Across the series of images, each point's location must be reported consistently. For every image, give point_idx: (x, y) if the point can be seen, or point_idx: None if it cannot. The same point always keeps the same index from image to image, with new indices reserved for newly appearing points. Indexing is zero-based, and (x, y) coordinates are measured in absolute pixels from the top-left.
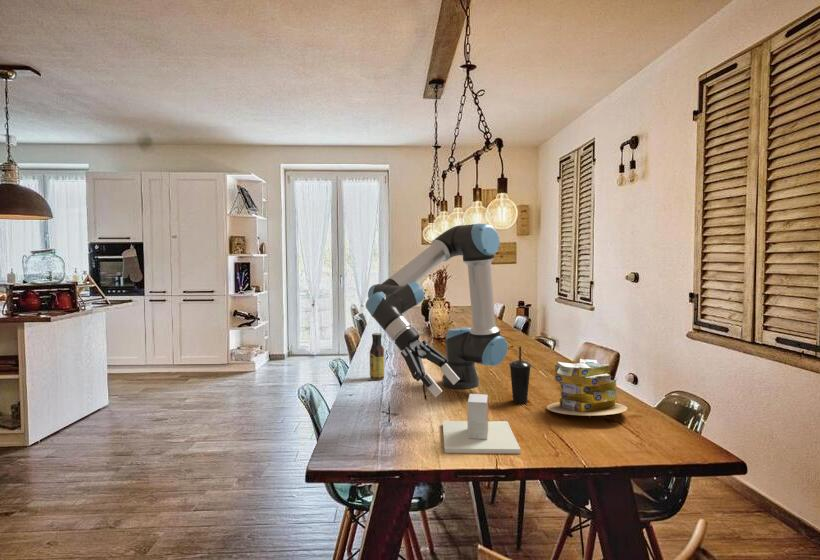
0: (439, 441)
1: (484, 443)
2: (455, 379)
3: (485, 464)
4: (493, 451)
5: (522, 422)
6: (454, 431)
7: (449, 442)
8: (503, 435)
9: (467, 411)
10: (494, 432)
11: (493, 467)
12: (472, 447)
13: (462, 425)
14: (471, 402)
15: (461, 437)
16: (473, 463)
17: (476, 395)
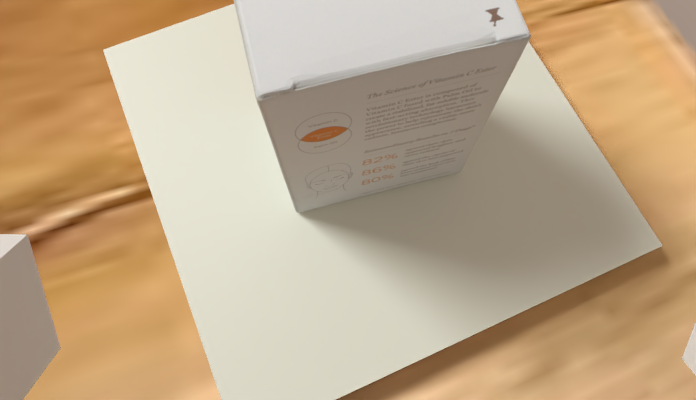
0: (520, 345)
1: None
2: (14, 301)
3: (638, 39)
4: None
5: (45, 6)
6: (393, 285)
7: (568, 252)
8: None
9: (503, 87)
10: None
11: (644, 5)
12: (558, 115)
13: (269, 273)
14: (516, 4)
15: (461, 212)
16: (663, 86)
17: (300, 16)
